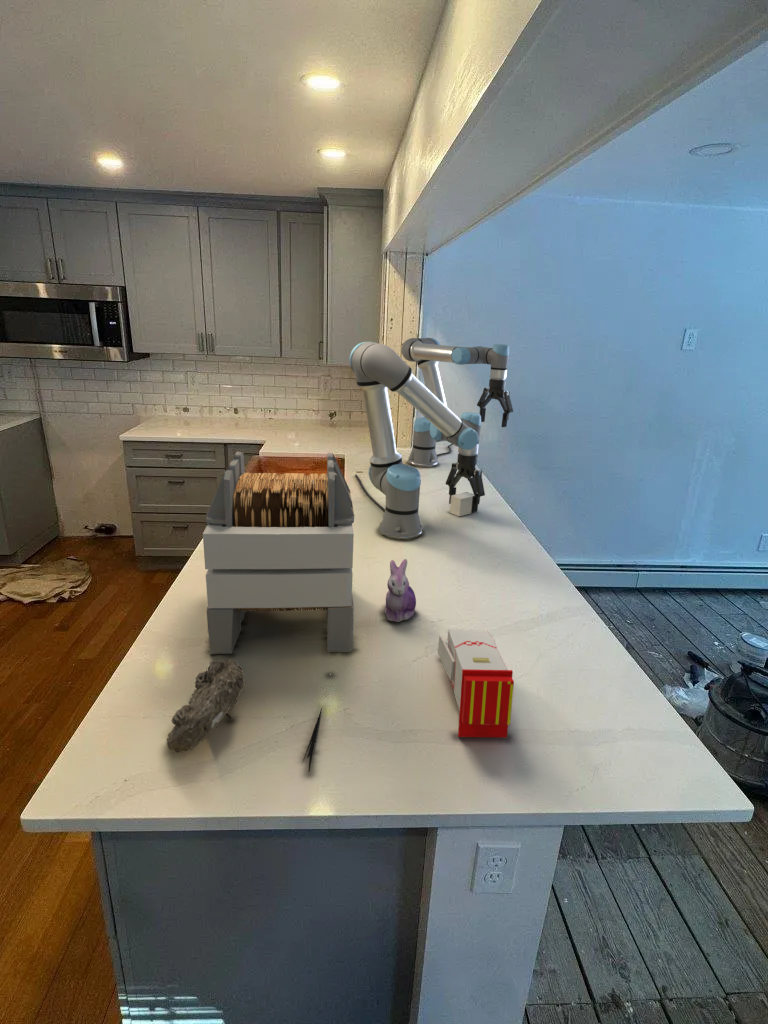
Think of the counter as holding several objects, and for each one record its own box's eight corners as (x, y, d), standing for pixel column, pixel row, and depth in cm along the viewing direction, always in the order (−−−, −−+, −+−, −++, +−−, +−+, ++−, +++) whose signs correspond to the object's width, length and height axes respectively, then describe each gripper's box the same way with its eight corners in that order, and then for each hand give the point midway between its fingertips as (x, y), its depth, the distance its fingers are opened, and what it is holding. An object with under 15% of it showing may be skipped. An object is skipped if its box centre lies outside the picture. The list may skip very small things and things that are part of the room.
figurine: (392, 627, 141) (395, 572, 136) (374, 608, 149) (376, 556, 144) (425, 619, 145) (429, 566, 140) (405, 601, 154) (408, 550, 149)
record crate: (229, 585, 158) (221, 442, 144) (346, 584, 161) (350, 444, 148) (206, 656, 126) (193, 481, 112) (353, 652, 130) (358, 483, 116)
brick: (459, 516, 220) (460, 499, 217) (449, 512, 223) (451, 495, 221) (474, 512, 225) (476, 495, 223) (465, 508, 229) (467, 491, 226)
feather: (331, 679, 122) (336, 673, 122) (307, 777, 96) (313, 769, 95) (324, 675, 122) (329, 669, 121) (298, 772, 95) (304, 764, 95)
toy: (488, 613, 130) (523, 677, 101) (484, 667, 133) (517, 744, 104) (435, 612, 130) (455, 676, 101) (432, 666, 133) (451, 743, 103)
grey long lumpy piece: (192, 660, 117) (244, 628, 112) (224, 691, 120) (276, 661, 115) (142, 746, 98) (202, 712, 93) (182, 779, 101) (242, 748, 96)
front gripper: (498, 459, 210) (492, 514, 217) (452, 446, 227) (448, 497, 234) (484, 462, 205) (478, 518, 213) (439, 448, 222) (435, 500, 230)
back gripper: (524, 381, 256) (518, 428, 263) (483, 375, 274) (478, 419, 281) (513, 382, 251) (508, 429, 258) (472, 376, 269) (468, 420, 276)
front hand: (462, 507), depth 223 cm, fingers open, 11 cm apart
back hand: (492, 424), depth 270 cm, fingers open, 13 cm apart
